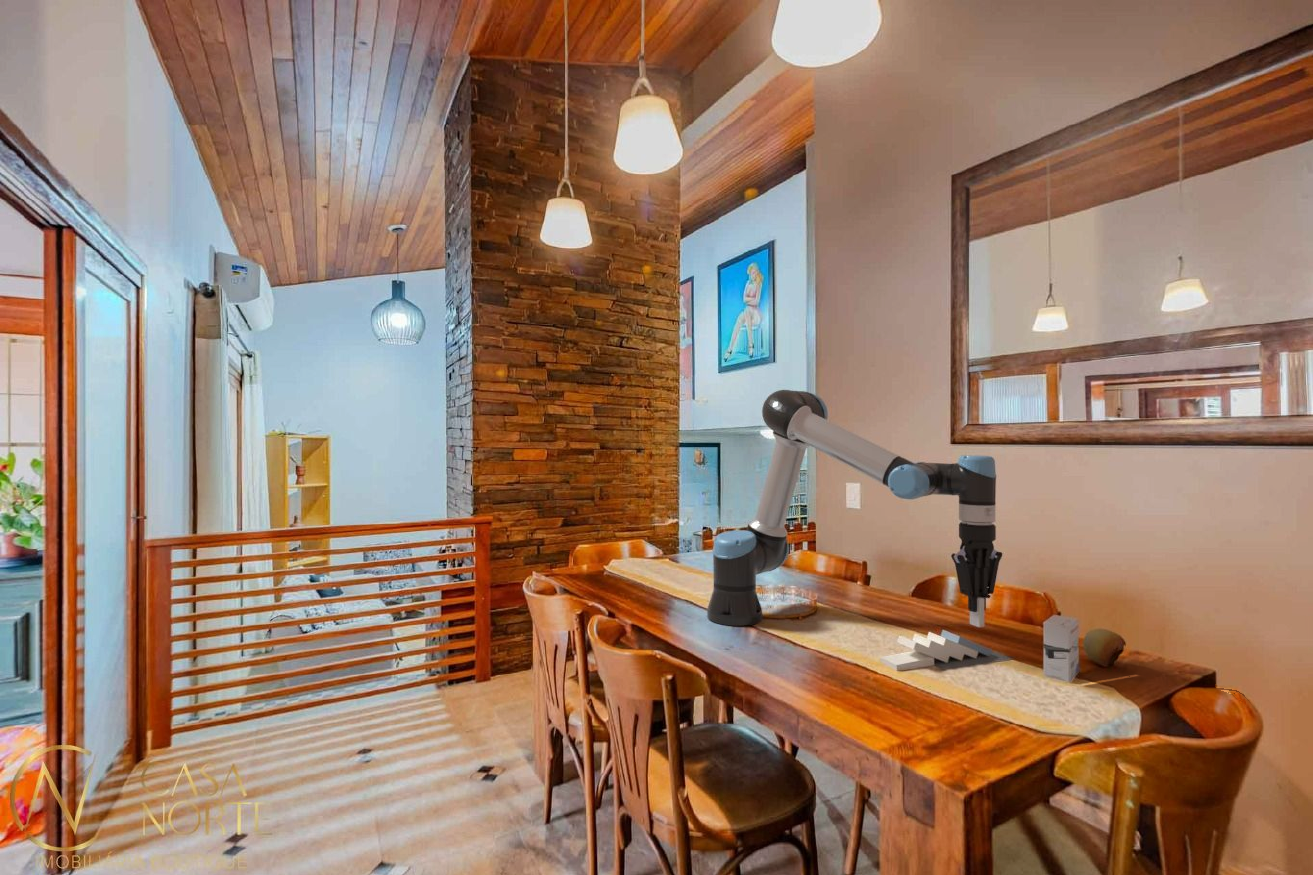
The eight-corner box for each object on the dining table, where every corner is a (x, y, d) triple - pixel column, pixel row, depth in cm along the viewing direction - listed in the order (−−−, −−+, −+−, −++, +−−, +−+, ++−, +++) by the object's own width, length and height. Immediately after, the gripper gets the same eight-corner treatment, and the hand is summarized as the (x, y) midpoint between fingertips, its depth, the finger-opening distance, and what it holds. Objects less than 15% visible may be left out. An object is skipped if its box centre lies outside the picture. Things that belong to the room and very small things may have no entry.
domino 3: (961, 660, 136) (928, 647, 133) (944, 653, 140) (912, 640, 137) (964, 654, 136) (931, 640, 133) (946, 646, 140) (914, 633, 138)
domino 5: (989, 656, 138) (957, 643, 135) (971, 649, 143) (940, 636, 140) (991, 649, 138) (959, 636, 135) (973, 642, 143) (942, 629, 140)
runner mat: (906, 654, 141) (906, 652, 141) (974, 645, 147) (974, 643, 147) (943, 672, 130) (943, 670, 130) (1014, 661, 137) (1014, 659, 137)
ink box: (1052, 667, 133) (1052, 613, 133) (1080, 673, 129) (1080, 618, 129) (1042, 678, 127) (1042, 621, 127) (1070, 685, 123) (1070, 626, 123)
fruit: (1121, 662, 135) (1121, 626, 135) (1129, 675, 128) (1129, 637, 128) (1080, 657, 139) (1080, 622, 139) (1085, 669, 132) (1085, 632, 132)
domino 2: (947, 662, 134) (913, 649, 131) (930, 655, 139) (897, 642, 136) (949, 655, 134) (915, 642, 131) (932, 648, 139) (899, 635, 136)
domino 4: (976, 658, 137) (943, 645, 134) (958, 651, 142) (926, 638, 139) (978, 651, 137) (945, 638, 134) (960, 644, 142) (928, 631, 139)
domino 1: (934, 664, 133) (896, 672, 130) (917, 657, 138) (881, 664, 135) (934, 657, 133) (896, 665, 130) (917, 650, 138) (880, 657, 135)
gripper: (968, 526, 134) (967, 633, 134) (1012, 523, 139) (1012, 627, 139) (941, 521, 142) (941, 623, 142) (985, 519, 146) (985, 618, 146)
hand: (977, 625), depth 140 cm, fingers closed
